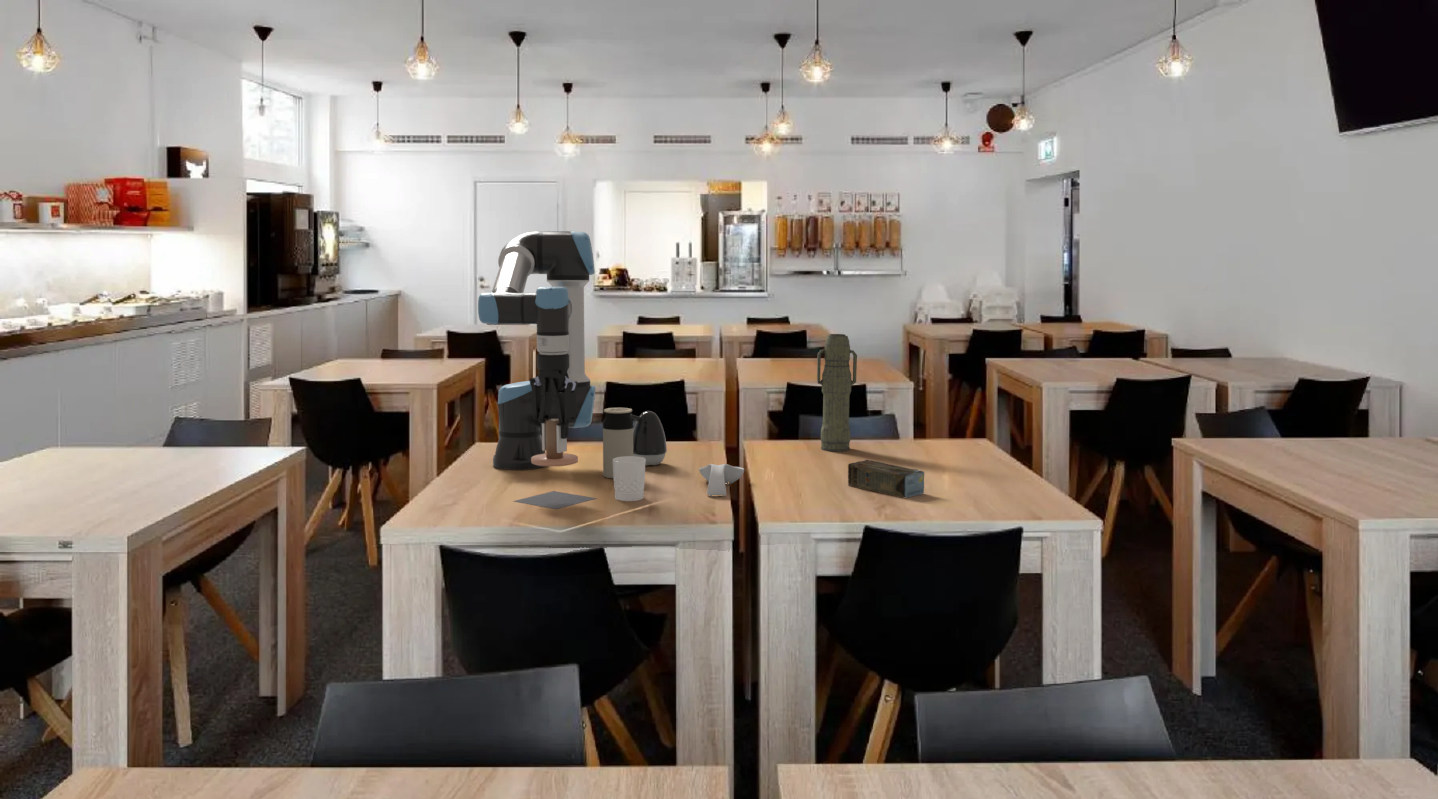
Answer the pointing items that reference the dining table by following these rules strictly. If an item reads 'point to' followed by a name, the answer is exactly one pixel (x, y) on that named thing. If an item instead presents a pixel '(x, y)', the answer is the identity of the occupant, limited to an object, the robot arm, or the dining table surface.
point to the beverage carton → (886, 478)
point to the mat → (555, 500)
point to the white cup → (629, 478)
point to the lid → (553, 449)
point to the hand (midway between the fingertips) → (554, 450)
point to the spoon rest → (720, 477)
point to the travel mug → (616, 437)
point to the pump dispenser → (649, 438)
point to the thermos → (836, 392)
